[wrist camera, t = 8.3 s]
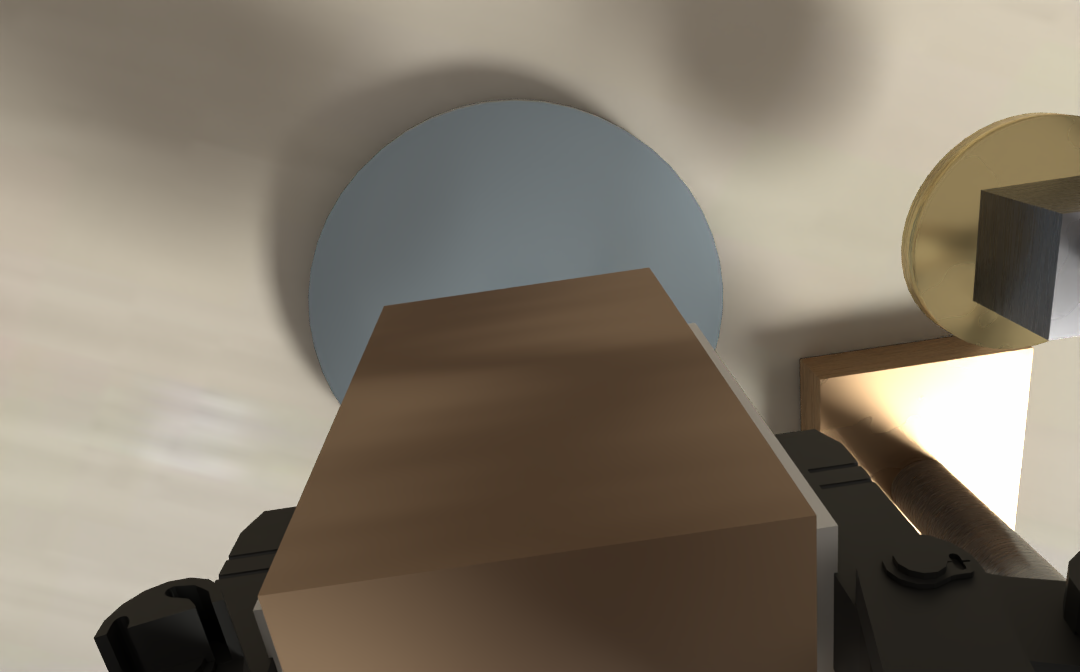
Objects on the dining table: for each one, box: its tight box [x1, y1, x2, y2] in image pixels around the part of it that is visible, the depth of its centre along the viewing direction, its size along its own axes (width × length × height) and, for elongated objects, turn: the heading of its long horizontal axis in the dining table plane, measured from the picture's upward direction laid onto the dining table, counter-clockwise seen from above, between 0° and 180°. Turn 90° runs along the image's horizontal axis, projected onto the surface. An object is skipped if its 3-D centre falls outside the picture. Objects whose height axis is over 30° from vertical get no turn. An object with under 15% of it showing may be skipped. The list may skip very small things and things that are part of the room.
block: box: [258, 268, 817, 672], centre depth 11 cm, size 5×5×8 cm
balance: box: [800, 113, 1080, 581], centre depth 17 cm, size 6×22×15 cm, turn 8°
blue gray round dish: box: [308, 99, 723, 405], centre depth 21 cm, size 11×11×1 cm
